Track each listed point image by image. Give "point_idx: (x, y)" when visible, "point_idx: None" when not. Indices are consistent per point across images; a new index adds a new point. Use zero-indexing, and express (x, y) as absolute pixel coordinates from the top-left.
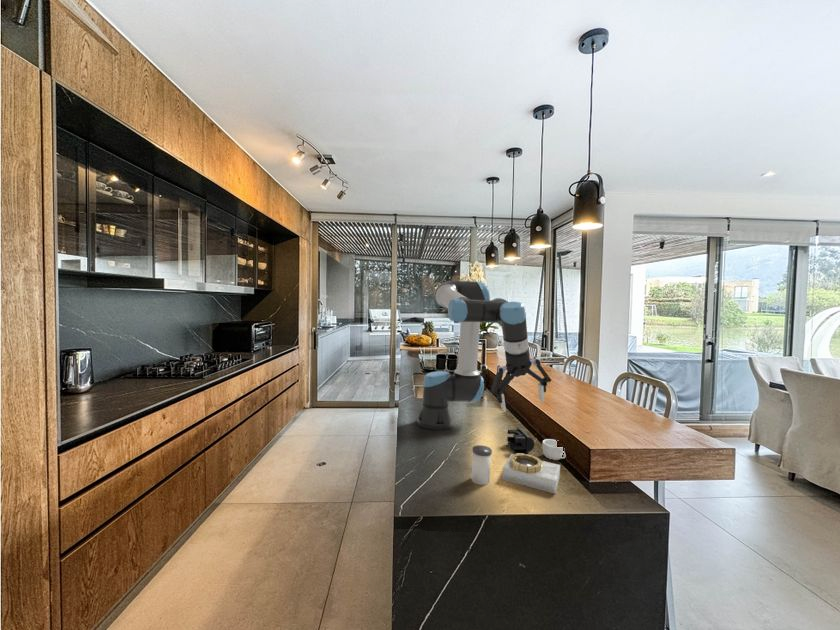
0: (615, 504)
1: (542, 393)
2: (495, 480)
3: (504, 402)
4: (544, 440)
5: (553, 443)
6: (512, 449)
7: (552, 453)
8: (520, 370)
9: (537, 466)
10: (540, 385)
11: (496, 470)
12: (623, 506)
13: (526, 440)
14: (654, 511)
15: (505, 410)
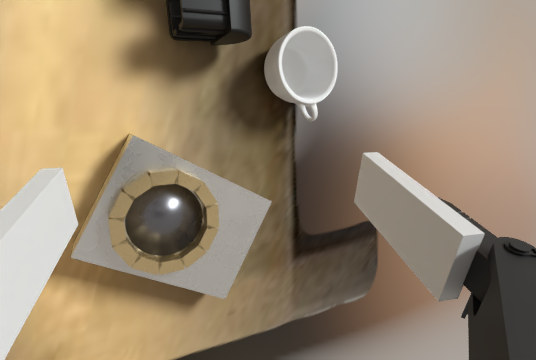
0: (317, 289)
1: (397, 245)
2: None
3: (38, 288)
4: (290, 38)
5: (313, 39)
6: (167, 7)
7: (284, 98)
8: None
9: (193, 261)
10: (443, 288)
11: None
12: (327, 292)
13: (225, 30)
14: (364, 293)
15: (70, 230)
